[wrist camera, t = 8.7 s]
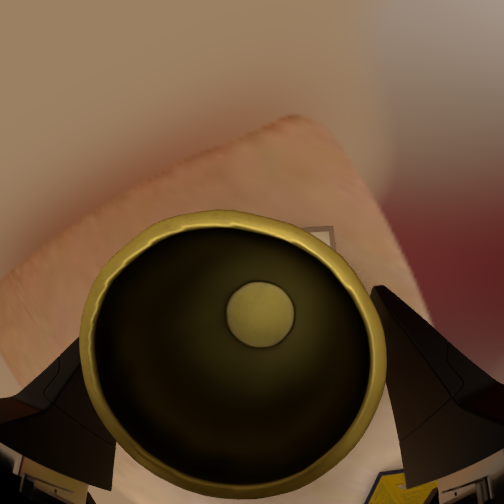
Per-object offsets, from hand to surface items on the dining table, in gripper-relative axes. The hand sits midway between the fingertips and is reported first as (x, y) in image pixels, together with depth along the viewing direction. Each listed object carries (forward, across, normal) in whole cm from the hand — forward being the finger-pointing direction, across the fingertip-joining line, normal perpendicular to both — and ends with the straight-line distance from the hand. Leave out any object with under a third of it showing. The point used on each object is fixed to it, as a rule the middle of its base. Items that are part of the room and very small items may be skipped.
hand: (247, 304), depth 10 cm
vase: (+6, 0, +7) cm, 9 cm away
